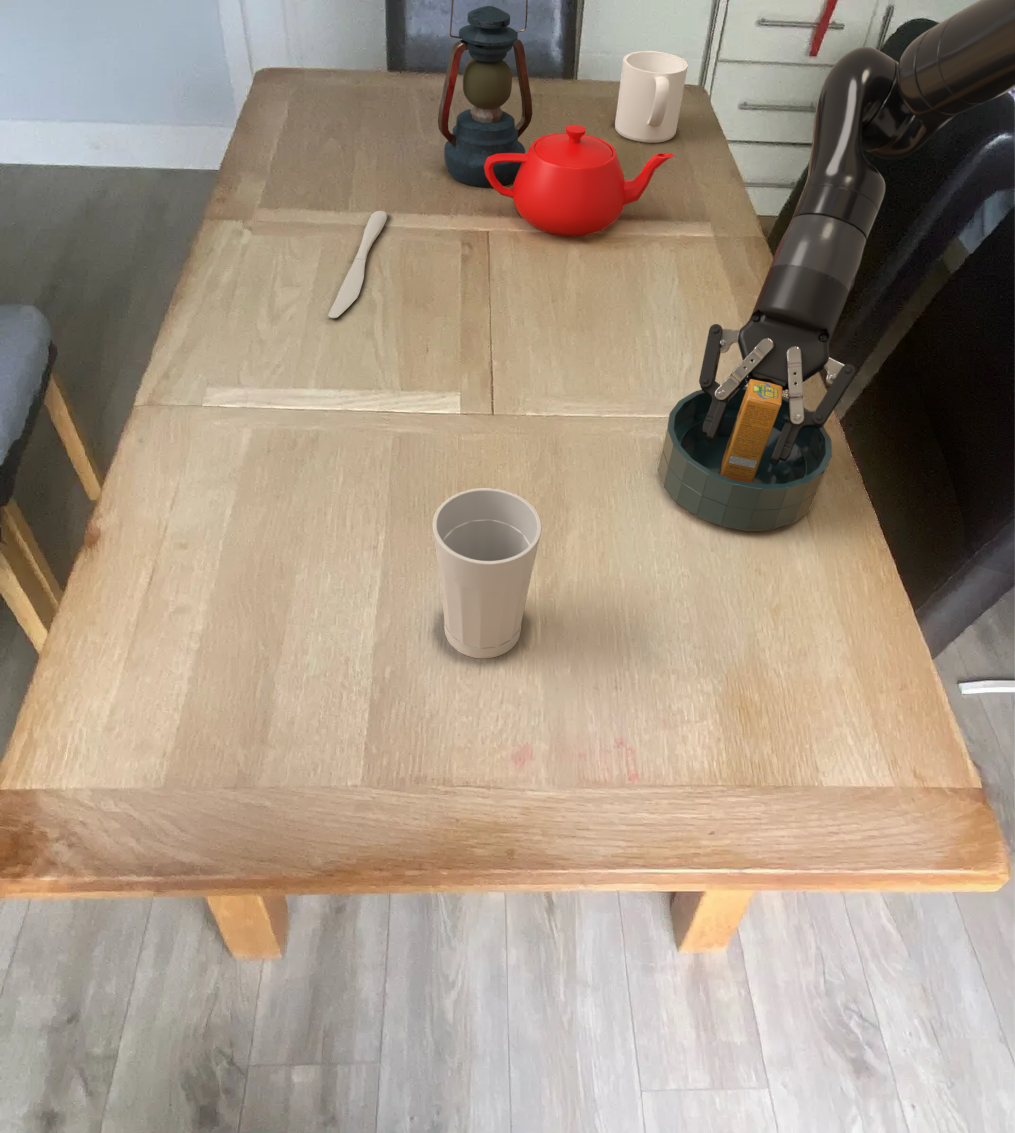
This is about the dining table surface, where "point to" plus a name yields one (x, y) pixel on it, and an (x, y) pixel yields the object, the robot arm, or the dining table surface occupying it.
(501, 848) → the dining table surface
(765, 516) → the bowl
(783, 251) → the robot arm
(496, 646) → the cup
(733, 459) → the supplement box
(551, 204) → the teapot
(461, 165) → the lantern
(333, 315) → the butter knife
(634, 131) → the mug
